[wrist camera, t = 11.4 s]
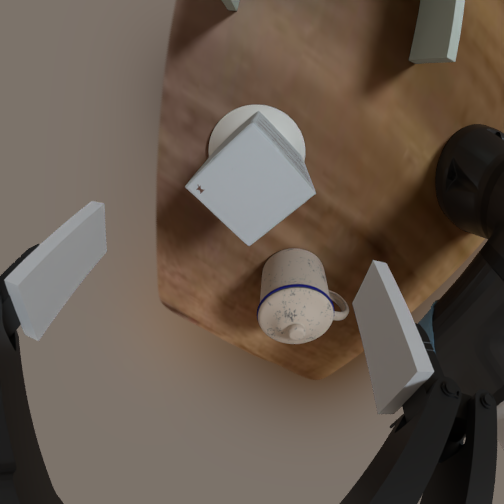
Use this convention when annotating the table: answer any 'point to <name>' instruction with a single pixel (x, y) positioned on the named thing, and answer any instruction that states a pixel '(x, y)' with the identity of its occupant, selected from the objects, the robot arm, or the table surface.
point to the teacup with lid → (296, 298)
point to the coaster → (243, 113)
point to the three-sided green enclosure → (427, 30)
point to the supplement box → (253, 179)
